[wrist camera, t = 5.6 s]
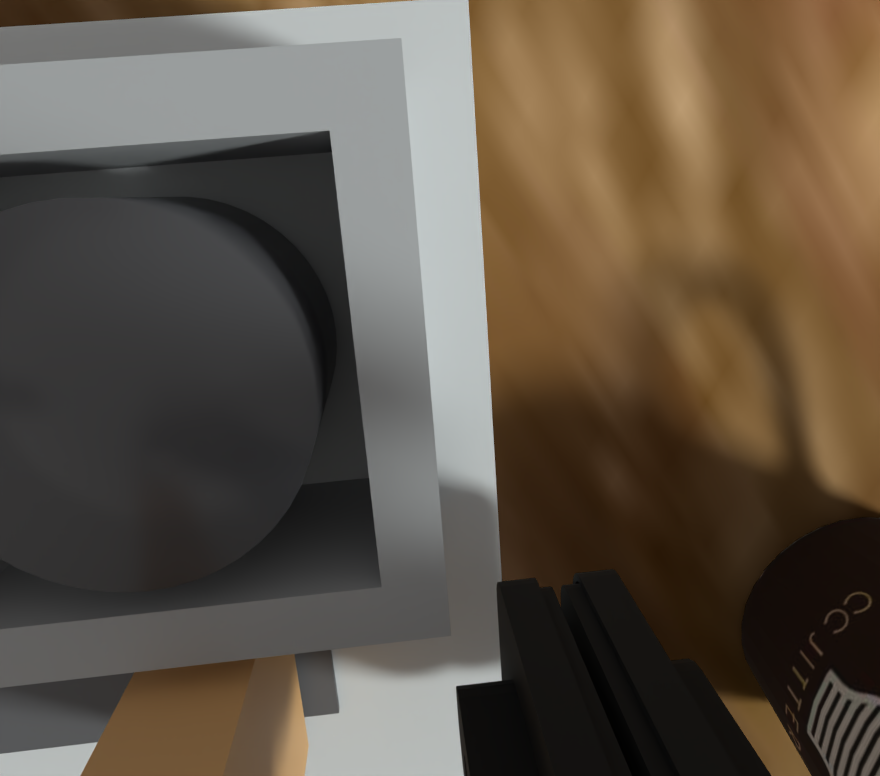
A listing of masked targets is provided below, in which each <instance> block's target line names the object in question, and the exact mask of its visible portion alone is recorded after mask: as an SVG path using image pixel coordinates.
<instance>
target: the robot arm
mask: <svg viewBox="0 0 880 776" xmlns="http://www.w3.org/2000/svg"><path fill="white" fill-rule="evenodd" d="M496 591H497V610H498V626H499V643H500V660H501V676H502V681H495V682H486V683H478V684H469V685H461V686H456V697H457V710H458V722H459V733H460V744H461V754H462V764H463V773H464V776H771V774H770V773H769V771H768V770H767V768H766V767H765V765H764V764H763V762H762V761H761V759H760V758H759V756H758V755H757V753H756V752H755V750H754V749H753V747H752V746H751V744H750V743H749V741H748V740H747V738H746V737H745V735H744V734H743V732H742V731H741V729H740V727H739V726H738V724H737V723H736V721H735V720H734V718H733V717H732V715H731V714H730V712H729V711H728V709H727V708H726V706H725V705H724V703H723V702H722V700H721V699H720V697H719V696H718V694H717V693H716V691H715V690H714V688H713V687H712V685H711V684H710V682H709V681H708V679H707V678H706V676H705V675H704V673H703V672H702V670H701V669H700V668H699V666H698V665H697V664H696V663H695V662H694V661H692V660H690V659H680V660H672V661H670V659H669V657H668V656H667V654H666V652H665V651H664V649H663V647H662V646H661V644H660V643H659V641H658V639H657V638H656V636H655V634H654V633H653V631H652V629H651V628H650V626H649V624H648V623H647V621H646V619H645V618H644V616H643V615H642V613H641V611H640V610H639V608H638V606H637V605H636V603H635V601H634V600H633V598H632V596H631V595H630V593H629V592H628V590H627V588H626V587H625V585H624V583H623V582H622V580H621V578H620V577H619V575H618V574H617V572H616V571H615V570H613V569H610V570H601V571H592V572H583V573H575V575H574V578H573V584H570V585H563V586H562V587H561V607H560V604H559V602H558V600H557V597H556V595H555V592H554V590H553V588H552V587H543V588H540V587H539V584H538V582H537V580H536V579H535V578H529V579H520V580H511V581H502V582H497V588H496Z"/></svg>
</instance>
